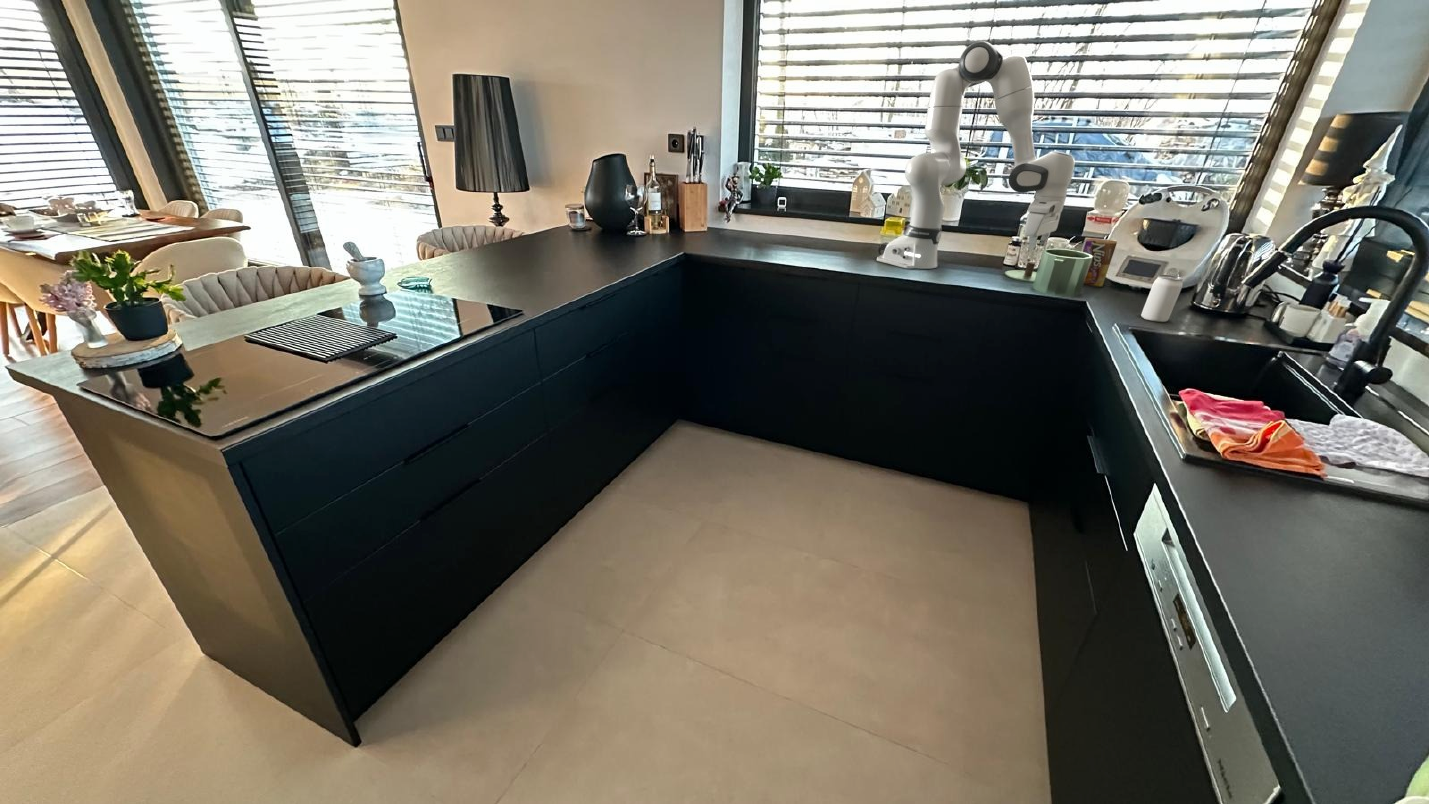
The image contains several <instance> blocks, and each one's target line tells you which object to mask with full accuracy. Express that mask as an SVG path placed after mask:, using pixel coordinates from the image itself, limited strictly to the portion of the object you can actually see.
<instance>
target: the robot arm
mask: <svg viewBox="0 0 1429 804" xmlns="http://www.w3.org/2000/svg"><path fill="white" fill-rule="evenodd" d="M1032 78H1033V77H1032V73H1031V70H1030V67H1029V64H1028V62H1027V59H1026V57H1025V56H1024V55H1022V54H1011V55H1007V56H1004V57H1003V54H1001V52H1000V51H999V50H997V48H996V47H995V46H994V45H993V44H992V43H990V42H989V41H984V40H979V41H976V42H973V43H971V44H970V45H968V46H967V47H966V48H965V49H964V50H963V52H962V53H961V55H960V57H959V61H958V65H957V66H956V67H954V68H948V69H944V70H942V71H940V72H939V73H937V75H936V76H935V78H934V80H933V83H932V87H931V90H930V95H929V99H928V105H927V110H926V111H927V112H926V120H925V125H924V126H925V127H924V134H925V135H924V136H925V137H926V138H927V139H928V142H929V146H930V152H923V153H920V154H917V155H914V156H913V157H911V158H909V160H908V162H907V163H906V165H905V169H904V176H905V179H906V182H907V183H908V184H909V186H910V188H911V194H912V207H911V214H910V220H909V223H908V224H907V225H904V226H902V229H901V231H903V233H902V234H901V235H900V236H897V237H896V238H895V239H893V240H892V241H889V242H887V241H885V242H882V243H880V246H878V249H877V253H878V256H877V257H876V261H877V262H881V263H884V264H888V265H892V266H896V267H899V268H902V269H903V268H904V269H908V270H909V269H910V270H912V269H921V270H924V269H925V270H928V269H935V268H938V266H939V264H938V248H939V244H940V241H941V237H942V231H943V228H942V224H943V219H944V215H945V209H946V203H945V201H943V199H942V196H941V187H943V186H949V185H952V184H954V183H956V182H958V181H960V180H961V179H962V178H963V177H964V176H965V174H966V171H967V161H966V159H965V157H964V156H963V154H962V150H961V149H962V148H961V141H960V129H961V121H962V116H963V115H962V114H963V108H964V101H965V96H966V92H967V90H968V88H971V87H973V86H976V85H980V84H983V83H984V82H986V83H989V84H990V87H991V89H992V93H993V100H994V106H995V111H996V114H997V117H998V119H999V122H1000V124H1002V126H1003V127H1004V128H1005V130H1006V131H1007V133H1008V135H1009V138H1010V141H1011V147H1012V153H1013V160H1014V162H1013V163H1014V165H1013V169H1012V170H1011V171H1010V172H1009V176H1008V185H1009V187H1010V188H1011V190H1013V191H1014V192H1016V193H1019V194H1026V193H1031V192H1036V194H1035V197H1034V199H1033V201H1032V202H1031V203H1030V204H1029V205H1028V208H1027V212H1028V215H1027V217H1026V222H1025V228H1024V236H1025V237H1028V247H1027V249H1028V250H1031V251H1032V250H1035V249H1036V247H1037V240H1038V237H1040V236H1041V237H1040V239H1039V242H1038V246H1040V247H1044V246H1046V245H1047V241H1048V239H1049V237H1050V236H1051V233H1053V232H1056V231H1057V229H1058V226H1059V224H1060V223H1059V222H1060V219H1061V214H1062V212H1063V209H1064V206H1065V202H1066V199H1067V194H1068V193H1067V192H1068V191H1067V190H1068V188H1069V186H1070V184H1071V182H1072V178H1073V175H1074V169H1075V162H1076V161H1075V158H1074V156H1073V155H1072V154H1070V153H1068V152H1063V151H1058V150H1053V151H1049V152H1048V153H1046V154H1044V155H1042V156H1039V157H1037V154H1036V150H1035V143H1034V137H1033V136H1034V135H1033V117H1034V111H1035V91H1034V89H1035V88H1034V84H1033V83H1034V82H1033V79H1032ZM882 252H883V254H882Z"/></svg>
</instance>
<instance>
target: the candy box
mask: <svg viewBox="0 0 1429 804" xmlns="http://www.w3.org/2000/svg"><path fill="white" fill-rule="evenodd" d="M1117 244H1118V241H1117V239H1107V238H1096V237H1084V241H1083V244H1082V247H1081V249H1080V252H1084V253H1087V254H1090V255H1092V256H1093V258H1092V261H1091V264H1090V267H1089V270H1088V273H1087V276H1086V279H1085V282H1084V285H1086V286H1095V287H1103V286H1104V282H1105V279H1106V277H1107V274H1108V271H1109V268H1110V266H1111V262H1112V260H1113V256H1114V254H1115V250H1116V247H1117Z"/></svg>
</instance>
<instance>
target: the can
mask: <svg viewBox="0 0 1429 804" xmlns="http://www.w3.org/2000/svg"><path fill="white" fill-rule="evenodd" d="M1183 281H1184V278H1183V277H1180V276H1176V275H1170V274H1158V275H1157V278H1156V279H1155V280H1154V281H1153V284H1152V286H1151V288H1150V291H1149V294H1148V296H1147V298H1146V301H1145V304H1144V306H1143V309H1142V311H1141V314H1140V316H1141V318H1142V319H1144V320H1147V321H1150V322H1154V323H1155V322H1156V323H1166V322H1168V321H1169V319H1170V317H1171V315H1172V312H1173V310H1174V308H1175V306H1176V303H1177V301H1178V298H1179V296H1180V294H1181V291H1182V288H1183V285H1184V284H1183V283H1184V282H1183Z"/></svg>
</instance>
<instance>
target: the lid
mask: <svg viewBox="0 0 1429 804" xmlns="http://www.w3.org/2000/svg"><path fill="white" fill-rule="evenodd" d="M1026 263H1027V264H1026V267H1025V269H1012V270H1007V271H1005V272H1004V276H1005V277H1007V278H1009V279H1011V280H1016V281H1020V282H1026V283H1034V280H1035V277H1036V273H1037V271H1034V270H1035V267H1036V262H1034V261H1027V262H1026Z"/></svg>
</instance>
